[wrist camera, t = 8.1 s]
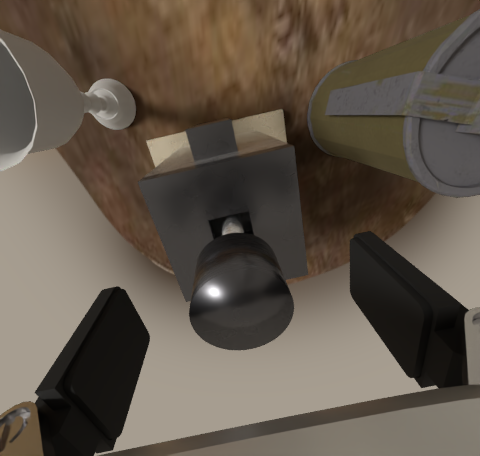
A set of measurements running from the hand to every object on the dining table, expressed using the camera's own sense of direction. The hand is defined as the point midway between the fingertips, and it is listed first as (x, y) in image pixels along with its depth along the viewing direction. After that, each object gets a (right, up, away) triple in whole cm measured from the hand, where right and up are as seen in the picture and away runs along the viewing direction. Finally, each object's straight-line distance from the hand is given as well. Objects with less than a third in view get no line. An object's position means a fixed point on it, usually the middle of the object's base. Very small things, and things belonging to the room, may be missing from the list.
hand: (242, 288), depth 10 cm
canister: (+13, +17, +19) cm, 29 cm away
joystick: (-2, +9, +21) cm, 23 cm away
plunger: (-2, +8, +19) cm, 21 cm away
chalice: (-14, +16, +17) cm, 28 cm away
